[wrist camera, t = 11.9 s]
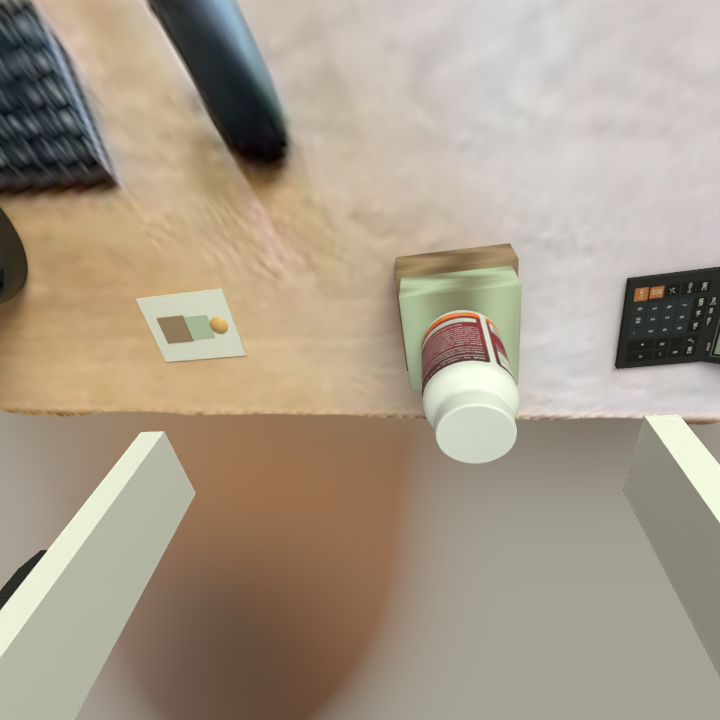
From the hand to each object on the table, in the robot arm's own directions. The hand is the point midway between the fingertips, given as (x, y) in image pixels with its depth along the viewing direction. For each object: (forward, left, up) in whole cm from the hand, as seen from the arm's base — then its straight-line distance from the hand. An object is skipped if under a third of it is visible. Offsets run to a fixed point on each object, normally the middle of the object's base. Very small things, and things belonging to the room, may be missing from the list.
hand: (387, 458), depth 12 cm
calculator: (+24, -13, -30) cm, 41 cm away
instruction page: (-25, -9, -29) cm, 39 cm away
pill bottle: (+3, -9, -22) cm, 24 cm away
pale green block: (+3, -9, -29) cm, 31 cm away
